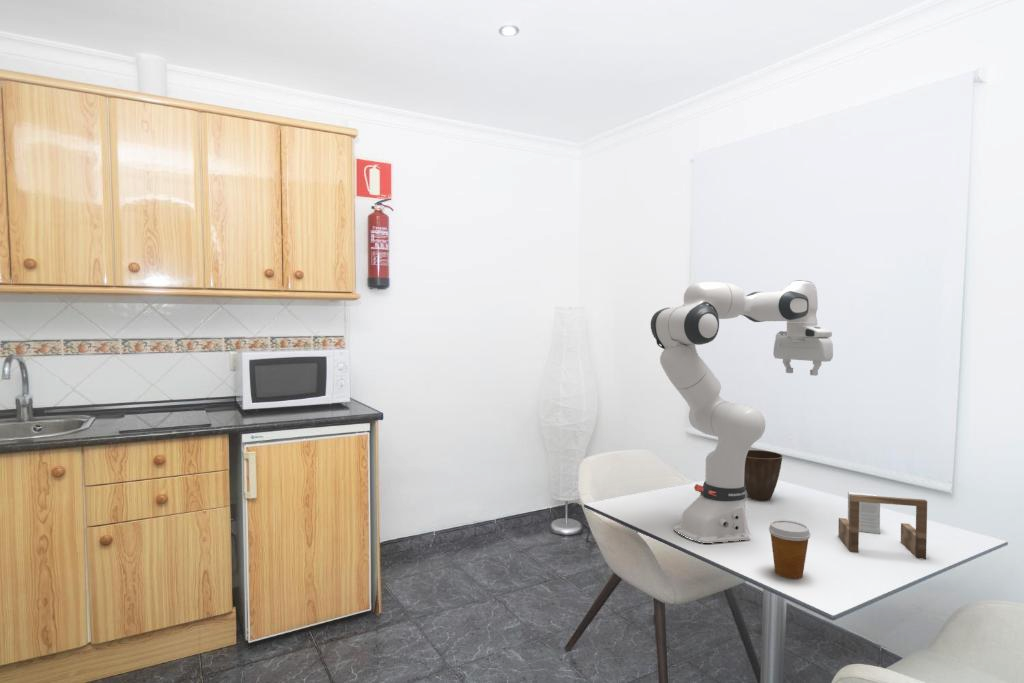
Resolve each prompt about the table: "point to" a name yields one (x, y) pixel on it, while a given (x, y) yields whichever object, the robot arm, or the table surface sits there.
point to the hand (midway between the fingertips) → (801, 374)
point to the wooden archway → (909, 535)
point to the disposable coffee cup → (789, 547)
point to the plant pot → (761, 474)
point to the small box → (868, 515)
